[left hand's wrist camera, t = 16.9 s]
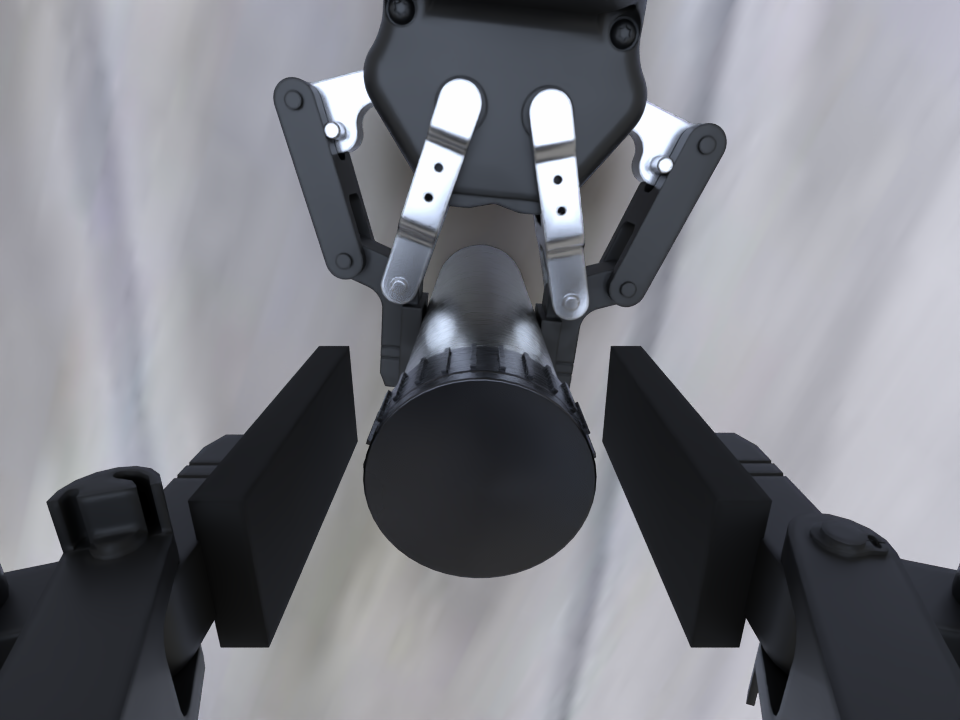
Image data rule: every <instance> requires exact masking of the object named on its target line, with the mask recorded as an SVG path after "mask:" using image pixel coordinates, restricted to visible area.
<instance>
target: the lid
mask: <svg viewBox="0 0 960 720" xmlns="http://www.w3.org/2000/svg"><path fill="white" fill-rule="evenodd" d="M588 434H590V431H589V429H588V426H587V424H586V421H585V419H584V416H583V414H582V411H581V409H580V406H579V404H578V402H576V403H575V402H574V400H573V397H572V395H571V392H570V389H569V387H568V385H567V383H566V382H564V383H561V382H560V381H559V379H558V378H557V377H556V376H555V375H554V374H553V373H552V370H551V367H550V366H548V365H546V366H545V367H544V366H543V365H541V364H540V363H538V362H537V361H535V360H533V359H531V358H530V357H529V354H528V353H526V352H524V353H523V354H520V353H517V352H515V351H511V350H507V349H504V346H503V345H498V347H489V346H477V343H471V346H469V347H462V348H456V349H452V350H451V349H450V347H448V348H445V351H444V352H442V353H440V354H437V355H435V356H432V357H430V358H429V359H426V357H424V358H422V359H421V361H420V364H418V365H417V366H416V367H414V368H413V369H412V370H411V371H409V372H408V373H405V372H403V373H402V374H401V376H400V379H399V381H398V384H397V385H396V387H395V388H394V389H393V391H392V392H391V391H389V390H388V392H387V393H386V395H385V398H384V400H383V403H382V405H381V408H380V411H379V412H378V414H377V416H376V419H375V421H374V424H373V426H372V429H371V431H370V434H369V436H368V439H367V442H366V444H368V445H370V446H369V448H368V451H367V454H366V459H365V461H364V464H363V468H364V474H363V483H364V492H365V497H366V500H367V504H368V507H369V510H370V512H371V514H372V517H373V519H374V521H375V522H376V524H377V525H378V527H379V529H380V530H381V532H382V533H383V534H384V535H385V536H386V538H387V539H388V540H389V541H390V542H391V543H392V544H393V545H394V546H395V547H396V548H397V549H398V550H400V551H401V552H402V553H404V554H405V555H406V556H408V557H409V558H411V559H412V560H414V561H416V562H418V563H419V564H421V565H423V566H426V567H428V568H430V569H433V570H435V571H439V572H442V573H445V574H449V575H454V576H459V577H468V578H492V577H500V576H506V575H510V574H515V573H518V572H521V571H524V570H527V569H530V568H532V567H534V566H536V565H538V564H540V563H542V562H544V561H546V560H547V559H549V558H551V557H552V556H554V555H555V554H556V553H557V552H559V551H560V550H561V549H563V548H564V547H565V546H566V545H567V544H568V543H569V542H570V541H571V540H572V539H573V538H574V536H575V535H576V534H577V532H578V531H579V530H580V528H581V527H582V525H583V523H584V522H585V520H586V518H587V516H588V514H589V511H590V509H591V506H592V503H593V500H594V495H595V491H596V477H597V476H596V465H595V460H594V458H596V453H595V451H594V448H593V446H592V443H591V440H590V438H589V435H588Z"/></svg>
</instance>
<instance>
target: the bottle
mask: <svg viewBox="0 0 960 720" xmlns="http://www.w3.org/2000/svg"><path fill="white" fill-rule="evenodd" d="M471 343H477V346H489V347H498V345H503V346H504V349H507V350H511V351H515V352H517V353H520V354H523V353H524V352H526V353H528V354H529V357H530V358H531V359H533V360H535V361H537V362H538V363H540V364H541V365H543V366H544V367H545V366H546V365H548V366H550V367H551V370H552V373H553V374H554V375H555V376H556V373H555V370H554V367H553V364H552V361H551V358H550V356H549V353H548V350H547V347H546V344H545V341H544V338H543V336H542V333H541V330H540V327H539V324H538V321H537V318H536V316H535V313H534V310H533V307H532V304H531V301H530V298H529V295H528V293H527V290H526V287H525V284H524V281H523V278H522V275H521V273H520V270H519V268H518V266H517V265H516V263H515V262H514V261H513V259H512V258H511V257H510V256H509V255H507V254H506V253H505V252H503V251H501V250H500V249H497V248H495V247H492V246H487V245H473V246H468V247H465V248H463V249H461V250H459V251H457V252H455V253H454V254H453V255H452V256H450V257H449V258H448V260H447V261H446V262H445V263H444V265H443V266H442V268H441V270H440V273H439V276H438V279H437V281H436V284H435V287H434V290H433V293H432V296H431V299H430V301H429V304H428V307H427V310H426V313H425V316H424V319H423V321H422V324H421V327H420V330H419V333H418V336H417V339H416V341H415V344H414V347H413V350H412V353H411V356H410V359H409V361H408V364H407V367H406V370H405V373H408V372H409V371H411V370H412V369H413V368H414V367H416V366H417V365H418V364H420V361H421V359H422V358H424V357H426V359H429V358H430V357H432V356H435V355H437V354H440V353H442V352H444V351H445V348H448V347H450V349H451V350H452V349H456V348H462V347H469V346H471ZM556 377H557V376H556Z"/></svg>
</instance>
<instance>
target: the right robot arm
mask: <svg viewBox="0 0 960 720" xmlns="http://www.w3.org/2000/svg"><path fill="white" fill-rule="evenodd" d="M646 4H647V0H383V15H382V22H381V25H380V29H379V32H378V35H377V37H376V40H375V42H374V44H373V45H372V47H371V49H370V50H369V52H368V54H367V57H366V59H365V63H364V70H360V71H356V72H353V73H349V74H345V75H341V76H337V77H333V78H329V79H325V80H321V81H317V82H313V83H309V82H306V81H304V80H301V79H299V78H295V77H288V78H285V79H283V80H281V81H280V82H279V83H278V84H277V86H276V88H275V90H274V95H273V99H274V105H275V108H276V111H277V114H278V117H279V120H280V123H281V127H282V130H283V133H284V136H285V139H286V142H287V145H288V148H289V151H290V154H291V157H292V160H293V164H294V167H295V170H296V173H297V176H298V179H299V182H300V185H301V188H302V191H303V194H304V197H305V201H306V204H307V207H308V210H309V213H310V216H311V219H312V222H313V225H314V228H315V231H316V234H317V238H318V241H319V244H320V247H321V250H322V253H323V256H324V259H325V262H326V265H327V268H328V269H329V271H330V272H331V273H332V274H333V275H334V276H336V277H337V278H340V279H353V280H355V281H357V282H359V283H361V284H364V285H366V286H368V287H370V288H371V289H373V290H374V291H375V292H376V293H377V294H378V296H379V298H380V300H381V302H382V335H381V363H380V374H381V376H382V379H383V381H384V384H385V386H390V387H396V385H397V384H398V381H399V379H400V376H401V374H402V373H403V372H405V370H406V367H407V364H408V361H409V359H410V356H411V353H412V350H413V347H414V344H415V341H416V339H417V336H418V333H419V330H420V327H421V324H422V321H423V319H424V316H425V313H426V310H427V305H428V293H425V292H423V279H424V276H425V273H426V270H427V268H428V265H429V262H430V259H431V256H432V253H433V251H434V248H435V245H436V242H437V239H438V237H439V234H440V231H441V229H442V226H443V223H444V221H445V218H446V215H447V212H448V209H449V206H455V207H465V208H471V207H477V206H483V205H489V204H497V205H500V206H502V207H505V208H508V209H510V210H513V211H515V212H518V213H524V214H533V218H534V225H535V232H536V237H537V241H538V246H539V253H540V260H541V267H542V275H543V282H544V294H543V301H542V304H536V306H535V316H536V318H537V321H538V324H539V327H540V330H541V333H542V336H543V338H544V341H545V344H546V347H547V350H548V353H549V356H550V358H551V361H552V364H553V367H554V370H555V373H556V376H557V378H558V379H559V381H560V382H561V383H564V382H566V383H567V385H568V387H569V389H570V383H571V377H572V376H571V375H572V371H573V363H574V359H575V353H576V347H577V341H578V335H579V329H580V325H581V323H582V321H583V319H584V318H585V317H586V315H588V314H589V313H590V312H592V311H594V310H596V309H599V308H603V307H607V306H611V305H616V304H617V305H619V306H621V307H631V306H634V305H636V304H637V303H639V302H640V301H641V300H642V298H643V297H644V295H645V293H646V292H647V290H648V288H649V286H650V285H651V283H652V281H653V279H654V277H655V276H656V274H657V272H658V270H659V268H660V267H661V265H662V263H663V261H664V259H665V258H666V256H667V254H668V252H669V250H670V249H671V247H672V245H673V243H674V242H675V240H676V238H677V236H678V234H679V233H680V231H681V229H682V227H683V225H684V224H685V222H686V220H687V218H688V216H689V215H690V213H691V211H692V209H693V207H694V206H695V204H696V202H697V200H698V199H699V197H700V195H701V193H702V191H703V190H704V188H705V186H706V184H707V182H708V181H709V179H710V177H711V175H712V173H713V172H714V170H715V168H716V166H717V164H718V163H719V161H720V159H721V157H722V156H723V154H724V152H725V149H726V144H727V140H726V135H725V133H724V131H723V130H722V128H721V127H719V126H718V125H716V124H712V123H706V124H692V123H690V122H688V121H686V120H684V119H682V118H680V117H678V116H676V115H674V114H672V113H670V112H668V111H666V110H664V109H662V108H660V107H658V106H656V105H654V104H653V103H651V102H649V101H647V87H646V82H645V79H644V76H643V73H642V69H641V65H640V56H639V45H640V37H641V31H642V26H643V21H644V15H645V9H646ZM373 106H374V107H375V109H376V110H377V112H378V114H379V115H380V117H381V119H382V120H383V122H384V124H385V125H386V127H387V129H388V130H389V132H390V134H391V135H392V137H393V139H394V140H395V142H396V144H397V146H398V147H399V149H400V151H401V152H402V154H403V156H404V157H405V159H406V161H407V162H408V164H409V166H410V167H411V169H412V171H413V172H414V177H413V180H412V183H411V186H410V189H409V193H408V196H407V199H406V202H405V205H404V208H403V211H402V214H401V217H400V221H399V224H398V231H397V234H396V237H395V240H394V244H393V247H392V249H391V248H389V247H387V246H384V245H382V244H380V243H378V242H376V241H375V240H374V237H373V233H372V230H371V226H370V223H369V219H368V216H367V212H366V209H365V206H364V202H363V199H362V195H361V192H360V188H359V185H358V181H357V178H356V174H355V171H354V167H353V164H352V160H351V157H350V154H349V152H352V151H354V150H356V149H357V148H358V147H359V146H360V145H361V143H362V140H363V127H362V122H363V118H364V115H365V114H366V112H367V111H368V110H369V109H370V108H372V107H373ZM628 134H629V135H630V136H631V137H632V139H633V141H634V143H635V155H634V158H633V161H632V172H633V175H634V177H635V178H636V179H637V180H638V181H640V182H641V183H640V185H639V186H638V188H637V190H636V192H635V194H634V196H633V198H632V200H631V202H630V204H629V206H628V208H627V210H626V212H625V214H624V215H623V217H622V219H621V221H620V223H619V225H618V227H617V229H616V231H615V233H614V235H613V237H612V239H611V241H610V243H609V244H608V246H607V248H606V250H605V252H604V254H603V256H602V258H601V260H600V262H599V263H597V264H593V265H589V266H585V258H584V245H585V235H584V225H583V216H582V207H581V197H580V187H581V186H582V185H583V184H584V183H585V182H586V181H587V180H588V178H589V177H590V176H591V175H592V174H593V173H594V172H595V171H596V170H597V169H598V167H599V166H600V165H601V164H602V163H603V162H604V161H605V160H606V159H607V158H608V156H609V155H610V154H611V153H612V152H613V151H614V150H615V149H616V148H617V146H618V145H619V144H620V143H621V142H622V141H623V140H624V139H625V138H626V137H627V135H628Z"/></svg>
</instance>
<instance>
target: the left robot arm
mask: <svg viewBox="0 0 960 720" xmlns="http://www.w3.org/2000/svg"><path fill="white" fill-rule="evenodd" d="M357 442H358V440H357V429H356V417H355V406H354V395H353V384H352V373H351V362H350V351H349V346H319V347H318V348H317V349H316V350H315V352H314V353H313V354H312V355H311V356H310V357H309V359H308V360H307V361H306V362H305V363H304V364H303V366H302V367H301V368H300V369H299V370H298V372H297V373H296V374H295V375H294V376H293V377H292V379H291V380H290V381H289V382H288V383H287V384H286V386H285V387H284V388H283V389H282V390H281V392H280V393H279V394H278V395H277V396H276V397H275V399H274V400H273V401H272V402H271V403H270V404H269V406H268V407H267V408H266V409H265V410H264V411H263V413H262V414H261V415H260V416H259V417H258V419H257V420H256V421H255V422H254V423H253V424H252V426H251V427H250V428H249V429H248V430H247V431H246V433H245V434H244V435H225V436H223V437H221V438H219V439H218V440H216V441H214V442H212V443H211V444H209V445H207V446H205V447H204V448H203V449H202V450H201V451H200V452H199V453H198V454H197V455H196V456H195V457H194V458H193V459H192V460H191V461H190V462H189V466H186V467H185V468H184V469H183V470H182V471H181V472H180V473H179V474H178V475H177V476H178V477H177V478H174V479H173V480H172V481H171V482H170V483H169V484H168V485H167V487H166V488H165V489H164V490H163V486H162V482H161V478H160V474H159V473H157V472H156V471H154V470H153V469H151V468H146V467H139V466H130V467H117V468H113V469H109V470H104V471H100V472H96V473H93V474H91V475H88V476H86V477H83V478H80V479H78V480H75V481H74V482H72V483H70V484H69V485H67V486H65V487H63V488H62V489H60V490H58V491H57V492H56V493H55V494H54V495H53V496H52V497H51V498H50V499H49V500H48V501H47V505H48V508H49V511H50V514H51V517H52V520H53V523H54V526H55V529H56V532H57V535H58V538H59V541H60V544H61V547H62V550H63V555H62V557H61V559H60V561H59V562H55V563H50V564H45V565H40V566H35V567H30V568H25V569H20V570H15V571H10V572H5V573H4V572H3V569H2V567H1V564H0V720H198V714H199V707H200V700H201V693H202V686H203V679H204V671H205V664H204V656H203V652H202V648H201V642H202V641H203V639H204V637H205V635H206V634H207V632H208V630H209V628H210V627H211V625H212V623H213V622H214V620H215V624H216V629H217V633H218V638H219V642H220V647H269V646H270V644H271V642H272V639H273V637H274V635H275V632H276V630H277V628H278V625H279V623H280V621H281V618H282V616H283V614H284V611H285V609H286V607H287V604H288V602H289V600H290V597H291V595H292V593H293V590H294V588H295V586H296V584H297V581H298V579H299V577H300V574H301V572H302V570H303V567H304V565H305V563H306V560H307V558H308V556H309V553H310V551H311V549H312V546H313V544H314V542H315V539H316V537H317V535H318V532H319V530H320V528H321V525H322V523H323V521H324V518H325V516H326V514H327V511H328V509H329V507H330V505H331V502H332V500H333V498H334V495H335V493H336V491H337V488H338V486H339V484H340V481H341V479H342V477H343V474H344V472H345V470H346V467H347V465H348V463H349V460H350V458H351V456H352V453H353V451H354V449H355V446H356V444H357ZM602 442H603V444H604V446H605V449H606V451H607V453H608V456H609V458H610V460H611V463H612V465H613V467H614V470H615V472H616V474H617V477H618V479H619V481H620V484H621V486H622V488H623V491H624V493H625V495H626V498H627V500H628V502H629V505H630V507H631V509H632V511H633V514H634V516H635V518H636V521H637V523H638V525H639V528H640V530H641V532H642V535H643V537H644V539H645V542H646V544H647V546H648V549H649V551H650V553H651V556H652V558H653V560H654V563H655V565H656V567H657V570H658V572H659V574H660V577H661V579H662V581H663V584H664V586H665V588H666V591H667V593H668V595H669V597H670V600H671V602H672V604H673V607H674V609H675V611H676V614H677V616H678V618H679V621H680V623H681V625H682V628H683V630H684V632H685V635H686V637H687V639H688V642H689V644H690V646H691V647H740V642H741V638H742V633H743V629H744V624H745V620H746V619H747V620H748V622H749V624H750V626H751V627H752V629H753V631H754V633H755V634H756V636H757V638H758V639H759V641H760V643H759V648H758V652H757V656H756V660H755V664H754V668H753V672H752V676H751V681H750V685H749V689H748V694H747V702H746V704H749V705H752V706H754V705H755V701H756V697H757V693H759V698H760V705H761V712H762V720H960V564H959V567H958V569H957V570H953V569H948V568H943V567H938V566H933V565H928V564H923V563H918V562H913V561H908V560H904V559H900V558H899V556H898V554H897V552H896V551H895V550H894V549H893V548H892V546H891V545H890V544H889V543H888V542H887V540H885V539H884V538H882V537H881V536H880V535H878V534H877V533H875V532H874V531H872V530H871V529H869V528H867V527H865V526H863V525H860V524H858V523H856V522H854V521H852V520H849V519H845V518H842V517H838V516H834V515H830V514H822V513H821V512H820V511H819V510H818V509H817V508H816V507H815V506H814V505H813V504H812V503H811V502H810V501H809V500H808V499H807V498H806V496H805V495H804V494H803V493H802V492H801V491H800V490H799V489H798V488H797V487H796V486H795V485H794V484H793V483H792V482H791V481H790V480H789V479H788V478H787V477H786V476H783V472H782V471H781V470H780V469H779V468H778V467H777V466H776V465H775V464H771V460H770V459H769V458H768V457H767V456H766V455H765V454H764V453H763V452H762V451H761V450H760V449H759V447H758V446H757V445H755V444H753V443H751V442H749V441H748V440H746V439H744V438H742V437H741V436H739V435H737V434H735V433H714V431H713V430H712V429H711V428H710V427H709V426H708V424H707V423H706V422H705V421H704V420H703V419H702V417H701V416H700V415H699V414H698V413H697V411H696V410H695V409H694V408H693V407H692V406H691V404H690V403H689V402H688V401H687V400H686V399H685V397H684V396H683V395H682V394H681V393H680V392H679V390H678V389H677V388H676V387H675V386H674V384H673V383H672V382H671V381H670V380H669V379H668V377H667V376H666V375H665V374H664V373H663V372H662V370H661V369H660V368H659V367H658V366H657V364H656V363H655V362H654V361H653V360H652V359H651V357H650V356H649V355H648V354H647V353H646V352H645V350H644V349H643V348H642V347H641V346H611V351H610V362H609V373H608V384H607V395H606V406H605V417H604V428H603V440H602Z"/></svg>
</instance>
